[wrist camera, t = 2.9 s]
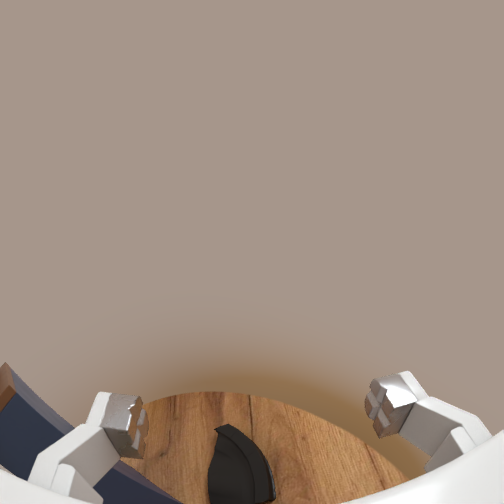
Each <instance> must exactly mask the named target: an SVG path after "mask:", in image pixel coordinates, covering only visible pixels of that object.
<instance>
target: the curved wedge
mask: <svg viewBox="0 0 504 504" xmlns="http://www.w3.org/2000/svg"><path fill="white" fill-rule="evenodd" d="M214 430H216V432H218V439H217V443H216V446H215V452H214V456H213V458H212V461H211V464H210V467H209V469H208V493H209V498H210V503H211V504H260V503H263V502H268V501H272V500H275V498H276V492H275V485H274V479H273V475H272V471H271V469H270V466H269V464H268V462H267V460H266V458H265V456H264V455H263V453H262V452H261V450H260V449H259V448H258V447H257V446H256V444H255V443H254V442H253V441H251V440H250V439H249V438H248V437H247V436H245V435H244V434H243V433H242V432H241V431H239V430H238V429H237V428H235V427H233V426H231V425H230V424H226V425H223V426H220V427H218V428H216V429H214Z"/></svg>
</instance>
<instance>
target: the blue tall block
mask: <svg viewBox="0 0 504 504" xmlns="http://www.w3.org/2000/svg"><path fill="white" fill-rule="evenodd" d="M74 429H75V428H74V427H73V426H72V425H70V424H69V423H68V422H67V421H66V420H64V419H63V418H62V417H61V416H60V415H58V414H57V413H56V412H55V411H54V410H53V409H52V408H51V407H49V406H48V405H47V404H46V403H45V402H44V401H43V400H42V399H41V398H39V397H38V395H36V394H35V393H34V392H33V391H32V390H31V389H30V388H29V387H28V386H27V385H26V384H25V383H24V382H23V381H22V380H21V378H19V376H18V375H17V374H16V373H15V372H14V371H13V370H12V369H11V368H10V367H9V365H8V364H7V363H4V364H3V365H2V366H1V368H0V464H1V465H2V466H3V467H5V468H6V469H7V470H9V471H10V472H11V473H13V474H14V475H16V476H17V477H19V478H21V479H23V480H25V481H28V478H29V476H30V473H31V471H32V468H33V466H34V463H35V461H36V458H37V456H38V454H39V453H41V452H42V451H44V450H45V449H47V448H48V447H49V446H51V445H52V444H54V443H55V442H57V441H58V440H60V439H61V438H62V437H64V436H65V435H67V434H68V433H70V432H71V431H72V430H74ZM92 488H93V489H94V490H95V491H96V492H97V493H98V494H99V495H100V496H101V497H102V498H103V504H183V503H181V502H179V501H178V500H176V499H175V498H173V497H172V496H170V495H169V494H167V493H166V492H164V491H163V490H162V489H160V488H159V487H157V486H156V485H154V484H153V483H152V482H150V481H149V480H148V479H146V478H145V477H144V476H142V475H141V474H140V473H139V472H137V471H136V470H135V469H133V468H132V467H130V466H129V465H127V464H125V463H124V462H122V461H121V460H118V462H117V463H116V464H115V465H114V466H113V467H112V468H111V469H110V470H109V471H108V472H107V473H106V474H105V475H104V476H103V477H102V478H101V479H100V480H99V481H98V482H97V483H96V484H95V485H94V486H93V487H92Z"/></svg>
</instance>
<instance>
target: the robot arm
mask: <svg viewBox="0 0 504 504" xmlns="http://www.w3.org/2000/svg"><path fill="white" fill-rule="evenodd" d="M370 388H371V391H370V392H369V393H368V394H367V396H366V399H365V410H366V413H367V415H368V417H369V418H370V419H372V420H374V423H373V427H374V429H375V431H376V433H377V435H378V437H379V438H382V437H386V436H390V435H393V434H397V433H399V435H400V436H402V437H403V438H405V439H406V440H408V441H409V442H410V443H412V444H413V445H415V446H416V447H418V448H419V449H421V450H422V451H424V452H425V453H427V454H428V455H430V456H431V458H430V460H429V461H428V462H427V463H426V465H425V467H424V469H425V471H426V474H424V475H422V476H420V477H417V478H415V479H412V480H410V481H407V482H405V483H402V484H400V485H397V486H395V487H392V488H389V489H386V490H384V491H381V492H378V493H375V494H372V495H368V496H365V497H362V498H358V499H355V500H351V501H348V502H344V503H340V504H504V429H503V430H502V431H500V432H499V433H498V434H496V435H494V436H492V435H491V434H490V432H489V431H488V430H487V428H486V427H485V426H484V424H483V423H482V422H481V420H480V419H479V418H478V417H477V416H476V415H473V414H471V413H469V412H466V411H464V410H461V409H459V408H457V407H455V406H452V405H450V404H448V403H445V402H443V401H441V400H439V399H437V398H434V397H428V395H427V394H426V392H425V391H424V390H423V388H422V387H421V386H420V384H419V383H418V382H417V380H416V379H415V378H414V376H413V375H412V374H411V372H409V371H405V372H401V373H397V374H393V375H389V376H385V377H381V378H376V379H373V381H372V382H371V384H370ZM142 405H143V402H142V400H141V397H139V396H133V395H123V394H115V393H107V392H99V393H98V394H97V396H96V398H95V401H94V403H93V406H92V408H91V411H90V413H89V416H88V418H87V421H86V423H85V424H81V425H79V426H78V427H77V428H75V429H74V430H72V431H71V432H70V433H68V434H67V435H65V436H64V437H62V438H61V439H60V440H58V441H57V442H55V443H54V444H52V445H51V446H49V447H48V448H47V449H45V450H44V451H42V452H41V453H39V454H38V456H37V458H36V461H35V463H34V466H33V468H32V471H31V473H30V476H29V478H28V481H25V480H23V479H21V478H19V477H16V476H14V475H12V474H10V473H8V472H6V471H4V470H2V469H0V504H103V498H102V497H101V496H100V495H99V494H98V493H97V492H96V491H95V490H94V489H93V488H92V487H93V486H94V485H95V484H96V483H97V482H98V481H99V480H100V479H101V478H102V477H103V476H104V475H105V474H106V473H107V472H108V471H109V470H110V469H111V468H112V467H113V466H114V465H115V464H116V463H117V462H118V460H119V459H120V458H121V457H127V458H136V459H143V457H144V451H145V446H146V444H145V442H144V440H143V438H145V437H146V436H147V435H148V429H149V421H148V416H147V413H146V411H145V410H144V409H142Z"/></svg>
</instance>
